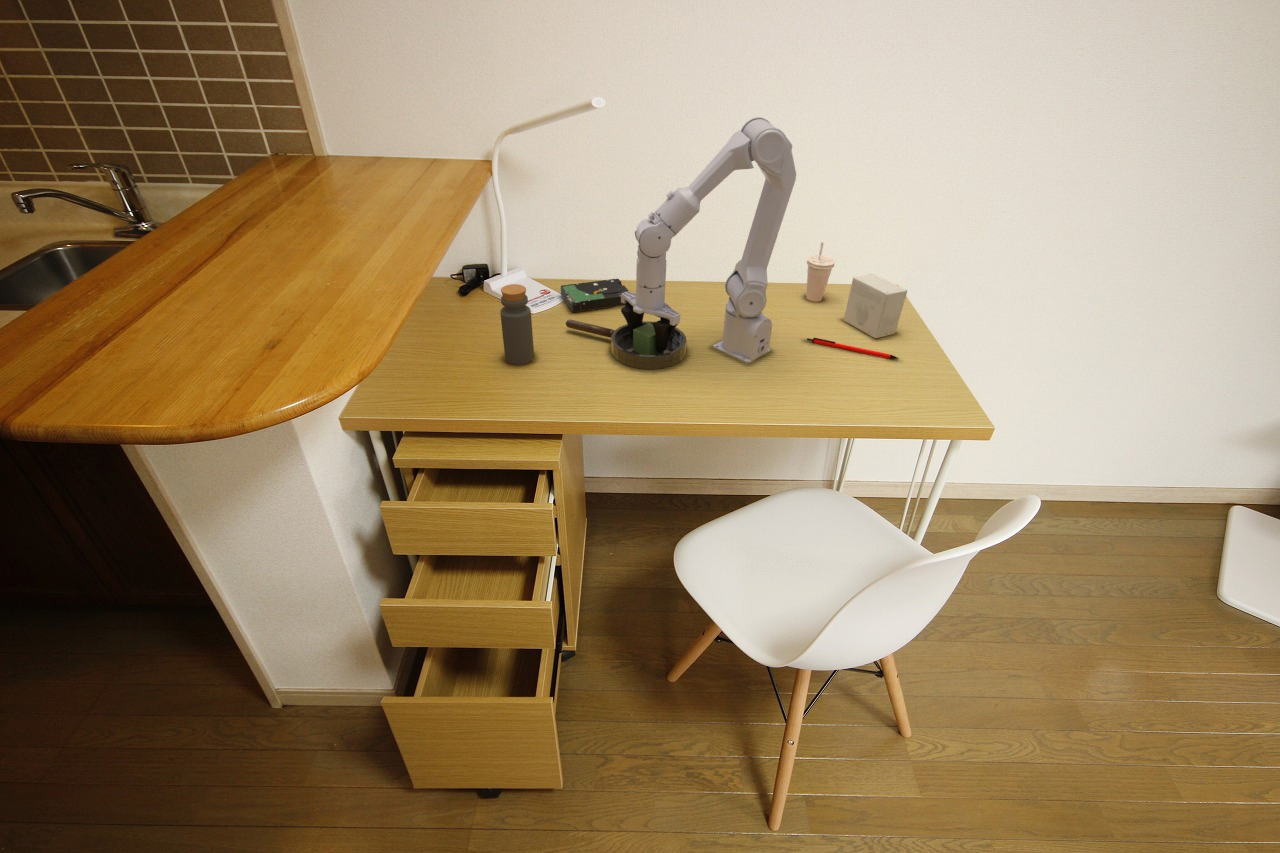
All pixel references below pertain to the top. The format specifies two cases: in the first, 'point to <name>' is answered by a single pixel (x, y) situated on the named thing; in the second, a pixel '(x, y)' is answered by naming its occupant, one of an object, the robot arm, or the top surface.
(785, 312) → the top surface
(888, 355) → the pen
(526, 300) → the bottle
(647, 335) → the block
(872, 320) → the cosmetics box
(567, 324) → the skillet handle
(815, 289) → the smoothie
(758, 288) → the robot arm
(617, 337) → the skillet
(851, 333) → the top surface
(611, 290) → the disk drive
